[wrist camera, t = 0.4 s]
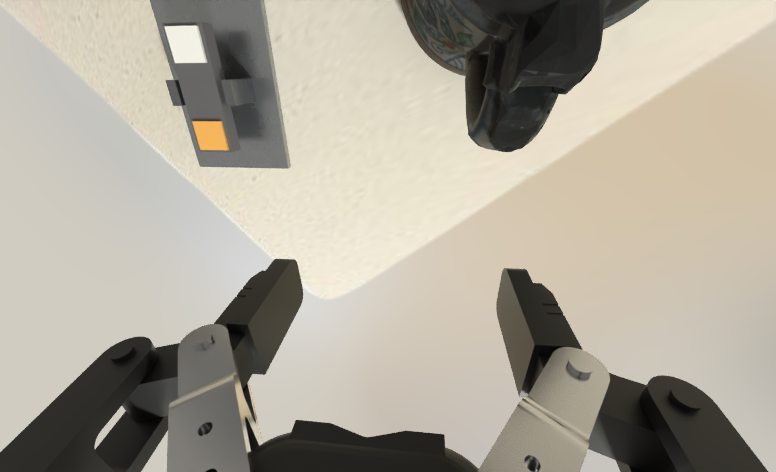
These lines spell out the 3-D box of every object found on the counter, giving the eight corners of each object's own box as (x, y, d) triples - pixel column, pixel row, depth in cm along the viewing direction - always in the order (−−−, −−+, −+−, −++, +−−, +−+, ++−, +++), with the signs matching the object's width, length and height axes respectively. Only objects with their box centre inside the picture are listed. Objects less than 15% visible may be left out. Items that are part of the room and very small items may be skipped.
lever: (173, 25, 30) (159, 22, 29) (211, 24, 30) (199, 21, 28) (208, 148, 36) (197, 152, 34) (240, 149, 36) (231, 153, 34)
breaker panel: (154, -4, 33) (109, -16, 28) (262, -8, 31) (234, -21, 27) (203, 164, 41) (176, 176, 37) (290, 166, 40) (273, 179, 35)
